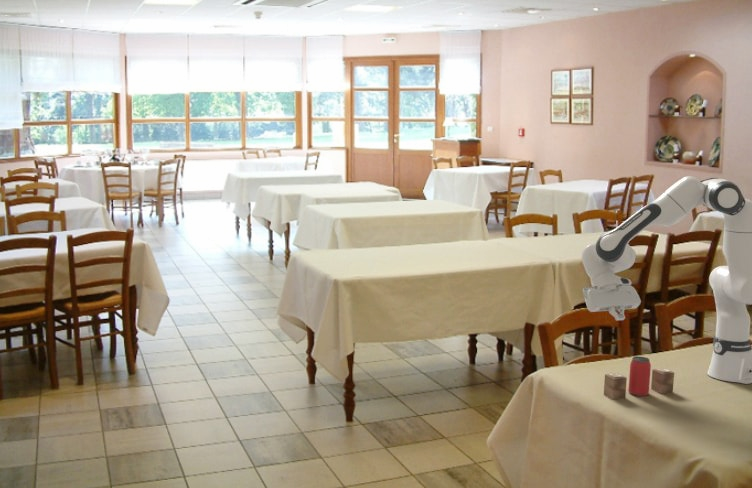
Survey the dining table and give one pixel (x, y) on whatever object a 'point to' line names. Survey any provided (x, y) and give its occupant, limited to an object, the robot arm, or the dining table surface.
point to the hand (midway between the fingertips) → (620, 319)
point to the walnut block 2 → (662, 380)
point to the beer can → (639, 376)
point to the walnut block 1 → (615, 386)
